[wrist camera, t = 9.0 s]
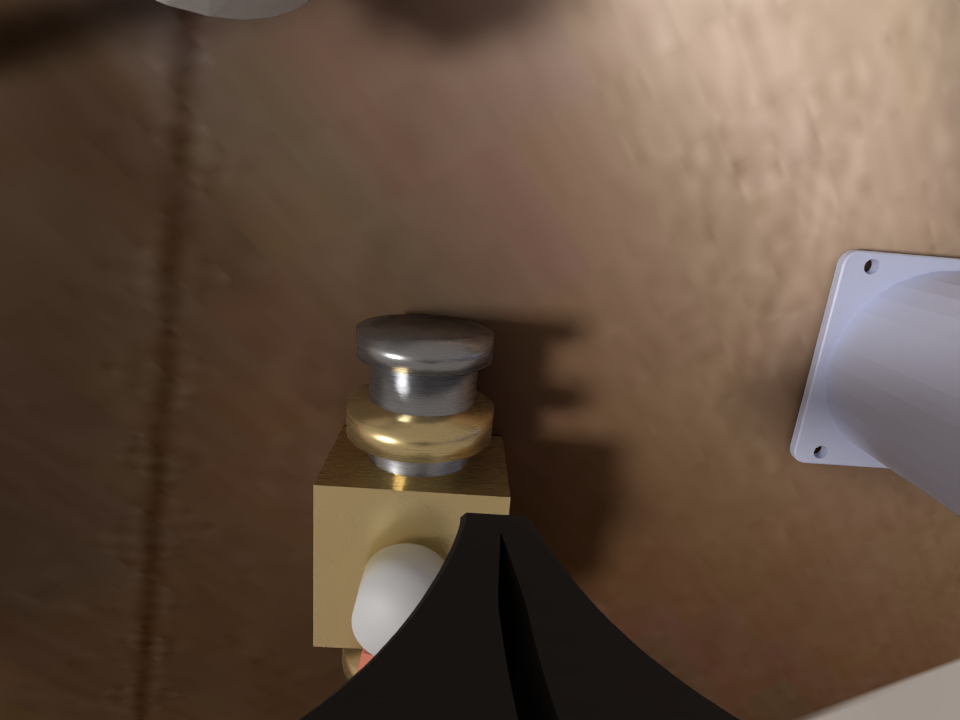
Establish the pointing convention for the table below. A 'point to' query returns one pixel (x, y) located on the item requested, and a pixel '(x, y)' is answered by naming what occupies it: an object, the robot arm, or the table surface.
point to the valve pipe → (403, 460)
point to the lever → (391, 593)
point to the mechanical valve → (237, 7)
